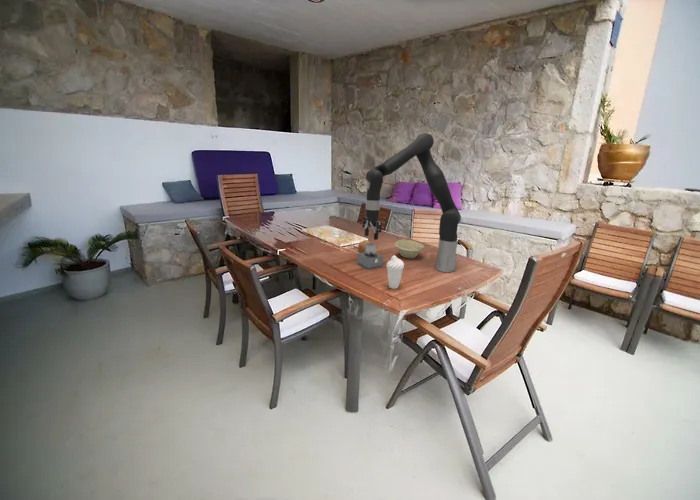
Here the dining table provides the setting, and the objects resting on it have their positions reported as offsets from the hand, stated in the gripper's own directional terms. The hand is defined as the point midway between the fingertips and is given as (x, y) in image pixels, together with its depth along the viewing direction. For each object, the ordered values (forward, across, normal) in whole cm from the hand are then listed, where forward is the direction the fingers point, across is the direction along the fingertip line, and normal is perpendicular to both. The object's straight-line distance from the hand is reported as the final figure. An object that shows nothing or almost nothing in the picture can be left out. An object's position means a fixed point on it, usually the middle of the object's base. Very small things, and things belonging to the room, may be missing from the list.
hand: (371, 237), depth 175 cm
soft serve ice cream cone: (+17, -30, +7) cm, 35 cm away
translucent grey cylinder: (+16, 0, 0) cm, 16 cm away
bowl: (+17, +3, -32) cm, 36 cm away
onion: (+17, +17, -9) cm, 25 cm away
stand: (+17, 0, 0) cm, 17 cm away
